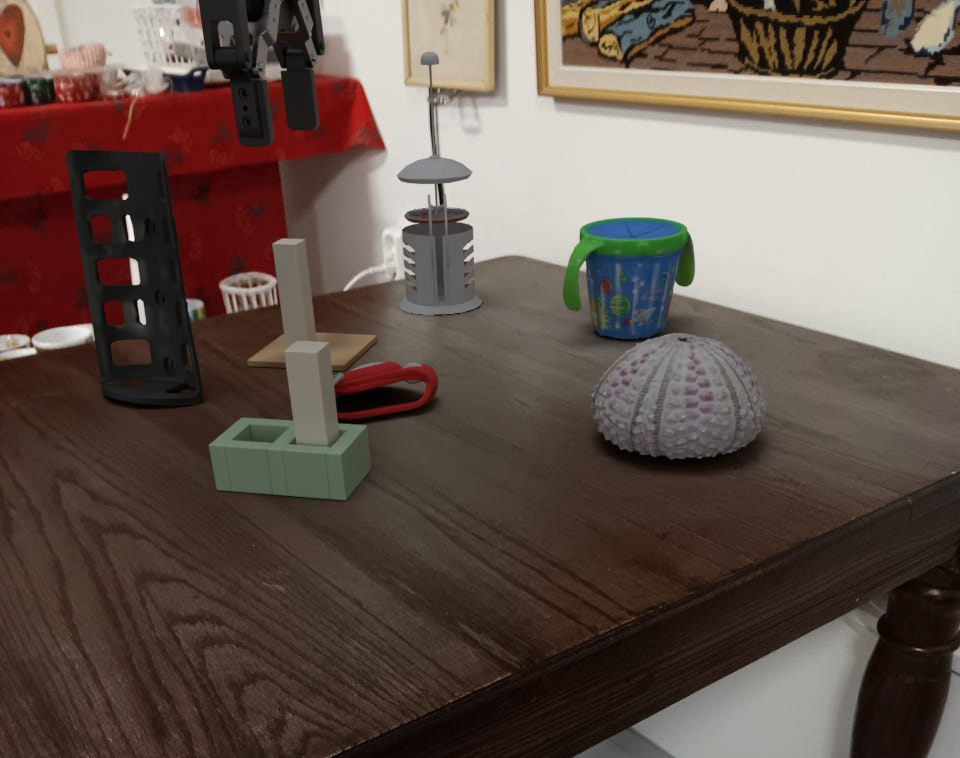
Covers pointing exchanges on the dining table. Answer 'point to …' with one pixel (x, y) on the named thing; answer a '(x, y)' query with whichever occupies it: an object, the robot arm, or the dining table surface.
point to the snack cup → (630, 273)
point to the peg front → (312, 393)
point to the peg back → (294, 290)
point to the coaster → (341, 345)
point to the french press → (437, 237)
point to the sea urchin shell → (679, 399)
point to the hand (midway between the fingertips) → (281, 137)
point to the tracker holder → (381, 376)
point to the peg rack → (288, 460)
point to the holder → (156, 272)
